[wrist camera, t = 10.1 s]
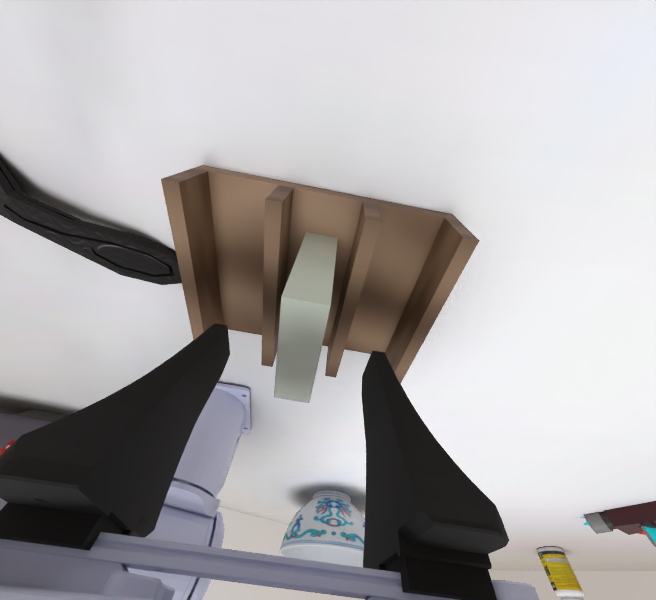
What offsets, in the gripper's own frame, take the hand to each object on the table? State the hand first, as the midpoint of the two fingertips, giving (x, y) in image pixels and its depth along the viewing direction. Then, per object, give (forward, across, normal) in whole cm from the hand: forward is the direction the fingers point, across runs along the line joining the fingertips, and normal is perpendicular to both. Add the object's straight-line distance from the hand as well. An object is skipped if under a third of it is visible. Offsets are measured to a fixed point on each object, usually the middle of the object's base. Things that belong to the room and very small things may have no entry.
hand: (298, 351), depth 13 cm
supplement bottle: (+8, -57, +55) cm, 80 cm away
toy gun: (+8, -55, +33) cm, 64 cm away
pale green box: (+6, 0, 0) cm, 7 cm away
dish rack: (+8, 0, 0) cm, 8 cm away
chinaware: (+8, -9, +44) cm, 45 cm away
